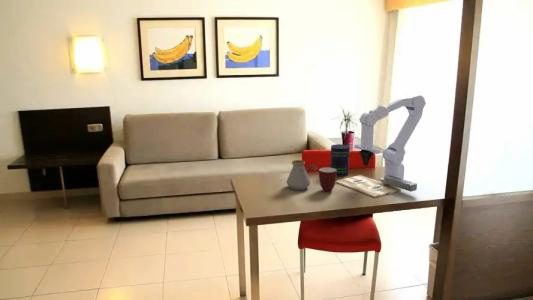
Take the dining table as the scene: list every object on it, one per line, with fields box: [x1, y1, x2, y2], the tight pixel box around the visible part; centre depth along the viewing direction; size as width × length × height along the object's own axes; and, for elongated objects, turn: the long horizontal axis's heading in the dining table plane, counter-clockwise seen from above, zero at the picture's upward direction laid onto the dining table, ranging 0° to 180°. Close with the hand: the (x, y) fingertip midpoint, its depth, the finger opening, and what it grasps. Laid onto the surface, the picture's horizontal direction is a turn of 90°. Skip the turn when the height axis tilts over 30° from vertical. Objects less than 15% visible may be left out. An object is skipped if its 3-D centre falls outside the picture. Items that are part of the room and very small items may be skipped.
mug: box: [318, 167, 337, 193], centre depth 181 cm, size 11×8×10 cm
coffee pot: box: [286, 159, 319, 191], centre depth 182 cm, size 21×12×15 cm, turn 24°
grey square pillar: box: [383, 174, 418, 192], centre depth 180 cm, size 17×4×4 cm, turn 32°
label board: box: [335, 174, 402, 199], centre depth 188 cm, size 17×26×1 cm, turn 31°
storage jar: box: [329, 143, 351, 177], centre depth 207 cm, size 10×10×15 cm
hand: (365, 165), depth 191 cm, fingers closed
